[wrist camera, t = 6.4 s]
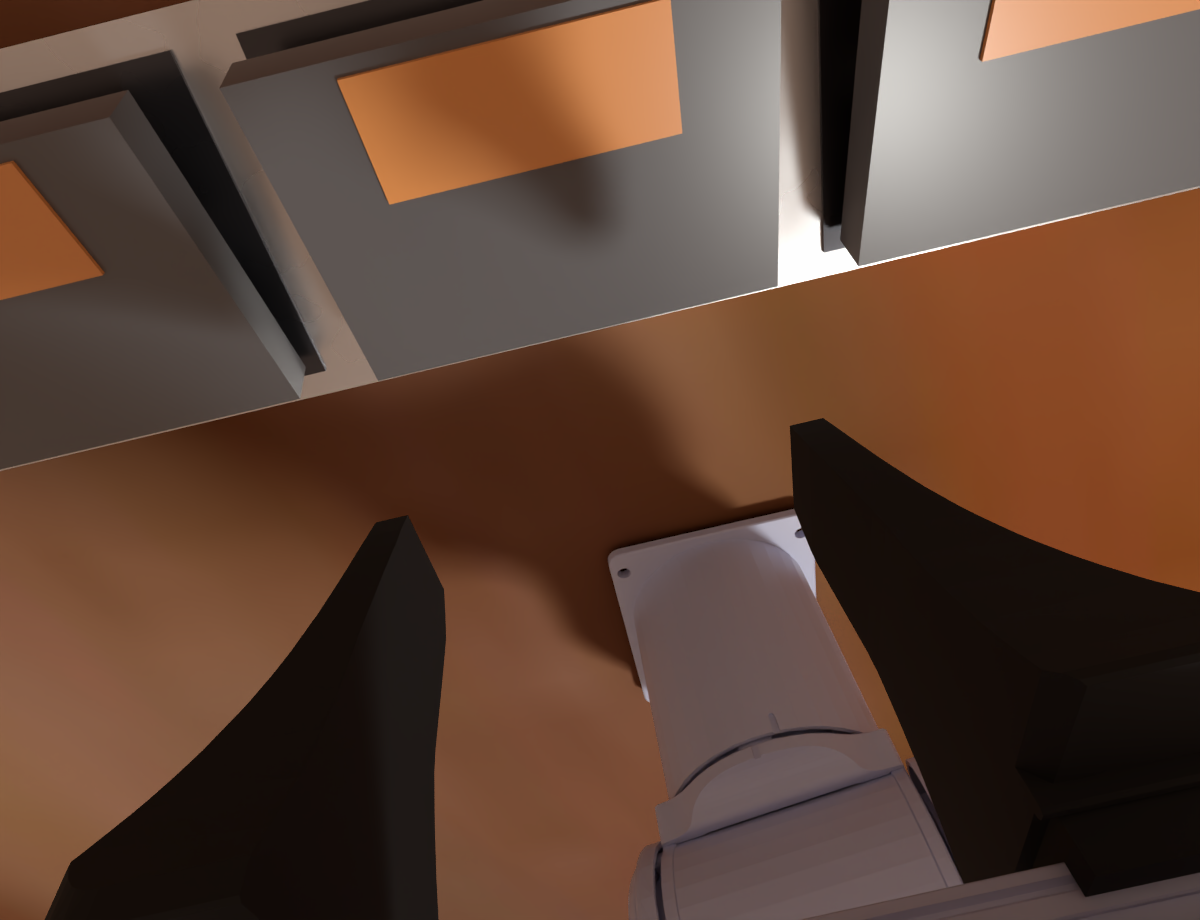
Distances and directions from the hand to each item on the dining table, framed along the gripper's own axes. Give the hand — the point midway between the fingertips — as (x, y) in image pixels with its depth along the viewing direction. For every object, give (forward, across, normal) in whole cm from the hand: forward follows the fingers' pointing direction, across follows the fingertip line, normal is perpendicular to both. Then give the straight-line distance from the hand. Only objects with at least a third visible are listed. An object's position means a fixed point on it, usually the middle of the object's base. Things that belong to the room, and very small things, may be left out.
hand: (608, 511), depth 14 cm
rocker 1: (+6, +12, -4) cm, 14 cm away
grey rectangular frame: (+6, -12, -4) cm, 14 cm away
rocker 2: (+6, 0, -4) cm, 8 cm away
